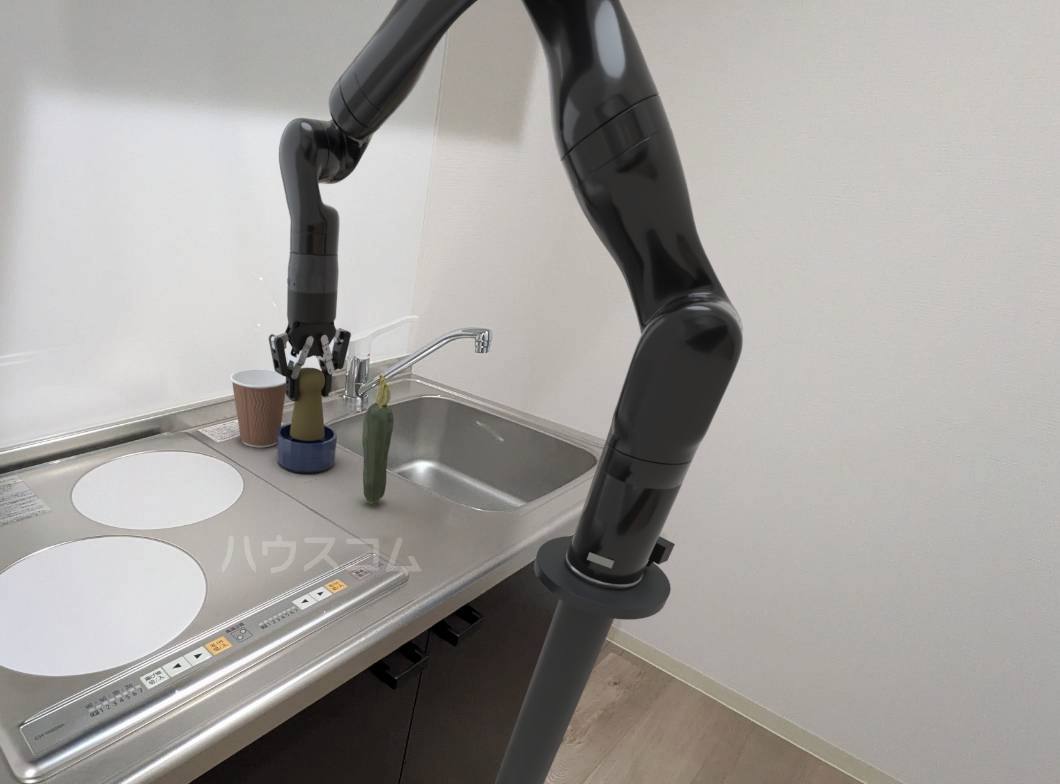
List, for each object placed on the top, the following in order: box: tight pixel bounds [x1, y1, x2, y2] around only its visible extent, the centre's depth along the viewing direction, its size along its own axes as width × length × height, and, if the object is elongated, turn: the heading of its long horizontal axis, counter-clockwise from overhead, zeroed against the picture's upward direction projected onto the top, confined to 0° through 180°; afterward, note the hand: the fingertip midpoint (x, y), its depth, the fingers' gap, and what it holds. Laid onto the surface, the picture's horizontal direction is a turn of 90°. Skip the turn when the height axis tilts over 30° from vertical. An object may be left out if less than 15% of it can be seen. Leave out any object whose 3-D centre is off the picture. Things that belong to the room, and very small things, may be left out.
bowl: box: [276, 422, 338, 474], centre depth 101 cm, size 10×10×6 cm
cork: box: [290, 367, 325, 441], centre depth 96 cm, size 6×6×11 cm
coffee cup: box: [229, 368, 286, 449], centre depth 106 cm, size 10×10×12 cm
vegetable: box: [361, 374, 395, 505], centre depth 85 cm, size 4×4×20 cm
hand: (308, 397), depth 96 cm, fingers closed on cork, 5 cm apart
